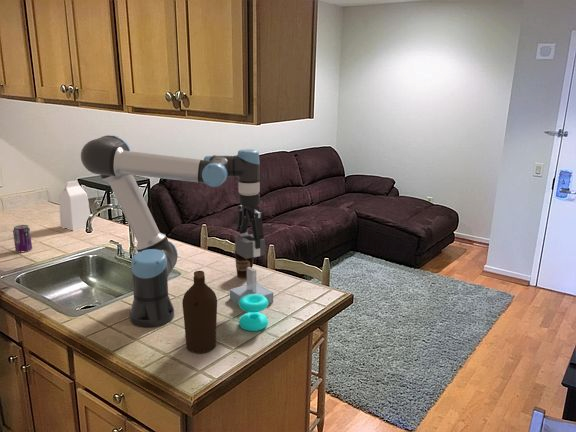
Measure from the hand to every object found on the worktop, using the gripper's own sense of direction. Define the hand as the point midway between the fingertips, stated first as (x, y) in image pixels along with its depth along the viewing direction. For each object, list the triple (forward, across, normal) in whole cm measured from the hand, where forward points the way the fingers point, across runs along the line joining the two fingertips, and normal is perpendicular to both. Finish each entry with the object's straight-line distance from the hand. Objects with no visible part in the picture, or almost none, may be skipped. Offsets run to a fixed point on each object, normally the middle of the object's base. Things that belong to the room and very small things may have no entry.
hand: (250, 252), depth 179 cm
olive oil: (+20, -19, +29) cm, 40 cm away
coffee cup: (+20, +24, -10) cm, 32 cm away
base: (+20, +1, -1) cm, 20 cm away
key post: (+16, +1, -1) cm, 16 cm away
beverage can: (+18, +106, +64) cm, 126 cm away
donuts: (+20, -16, +9) cm, 27 cm away
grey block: (0, 0, 0) cm, 0 cm away
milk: (+18, +134, +35) cm, 140 cm away
